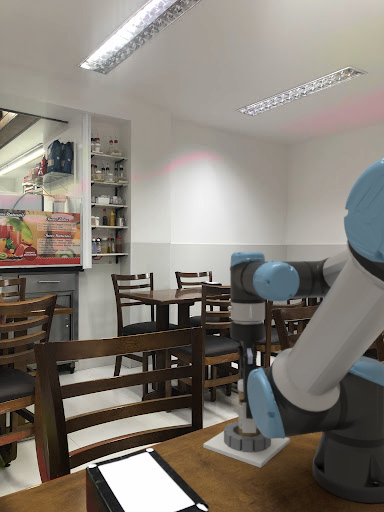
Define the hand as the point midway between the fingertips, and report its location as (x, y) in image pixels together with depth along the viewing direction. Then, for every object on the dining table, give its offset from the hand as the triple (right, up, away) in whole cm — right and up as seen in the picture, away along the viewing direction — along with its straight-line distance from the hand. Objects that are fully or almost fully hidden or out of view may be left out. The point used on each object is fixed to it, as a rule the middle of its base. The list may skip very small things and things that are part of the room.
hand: (247, 423), depth 91 cm
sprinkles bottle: (0, -4, 0) cm, 4 cm away
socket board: (0, -5, 0) cm, 5 cm away
